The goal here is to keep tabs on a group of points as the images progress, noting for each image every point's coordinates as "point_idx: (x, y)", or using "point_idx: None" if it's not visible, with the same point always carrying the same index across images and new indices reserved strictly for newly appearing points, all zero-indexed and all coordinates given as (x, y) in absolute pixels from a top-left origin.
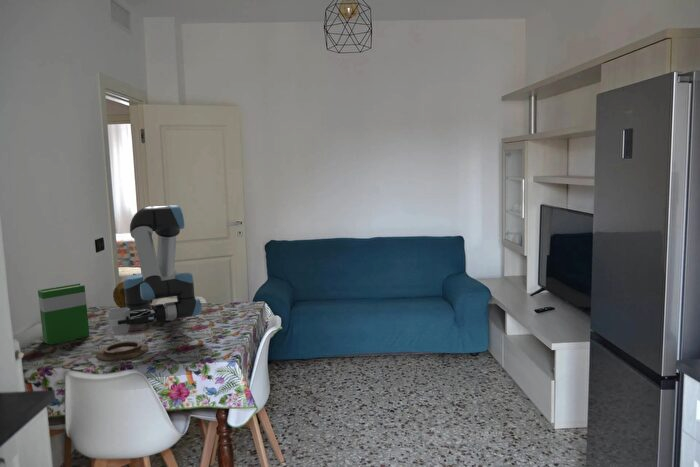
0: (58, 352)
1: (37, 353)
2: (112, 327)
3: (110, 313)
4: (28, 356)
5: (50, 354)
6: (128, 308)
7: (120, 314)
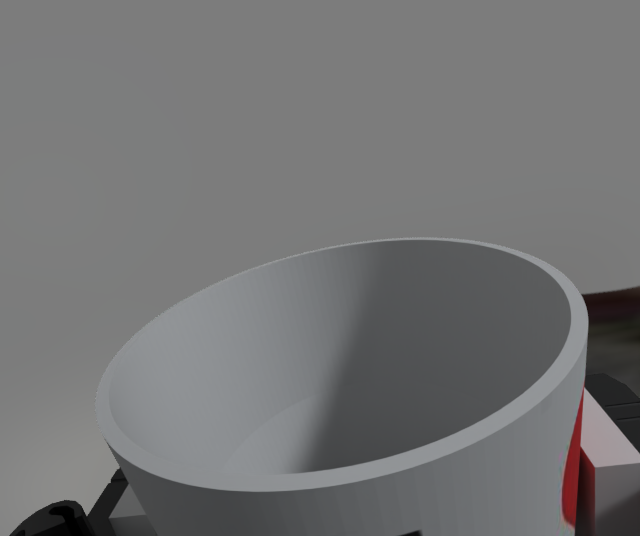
0: (631, 356)
1: (632, 304)
2: (343, 461)
3: (273, 276)
4: (589, 293)
5: (599, 338)
6: (387, 464)
7: (146, 379)
